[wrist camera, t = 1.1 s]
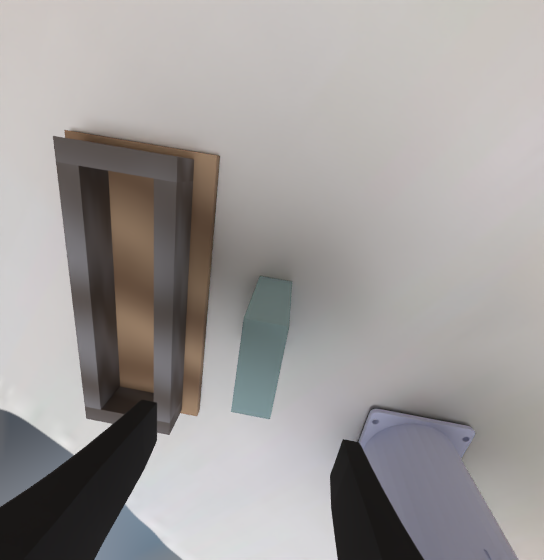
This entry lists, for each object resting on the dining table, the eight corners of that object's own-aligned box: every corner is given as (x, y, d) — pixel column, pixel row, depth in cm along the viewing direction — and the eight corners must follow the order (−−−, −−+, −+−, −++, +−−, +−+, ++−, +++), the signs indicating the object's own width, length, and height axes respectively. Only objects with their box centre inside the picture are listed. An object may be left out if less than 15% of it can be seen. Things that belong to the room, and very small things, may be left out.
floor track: (199, 410, 24) (186, 441, 21) (96, 390, 24) (70, 419, 21) (219, 156, 16) (203, 152, 14) (72, 131, 17) (26, 122, 14)
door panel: (277, 354, 21) (270, 419, 16) (249, 348, 21) (231, 411, 16) (292, 281, 19) (289, 326, 13) (260, 275, 19) (243, 318, 13)
